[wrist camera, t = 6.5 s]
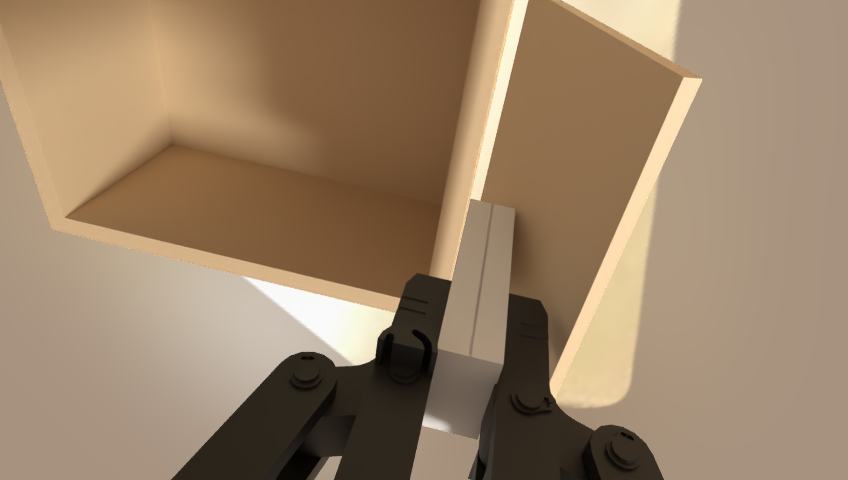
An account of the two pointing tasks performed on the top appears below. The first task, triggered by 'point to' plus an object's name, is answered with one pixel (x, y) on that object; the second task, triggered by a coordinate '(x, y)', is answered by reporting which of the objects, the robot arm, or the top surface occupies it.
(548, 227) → the flap
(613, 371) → the top surface
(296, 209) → the open wooden box
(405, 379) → the robot arm
